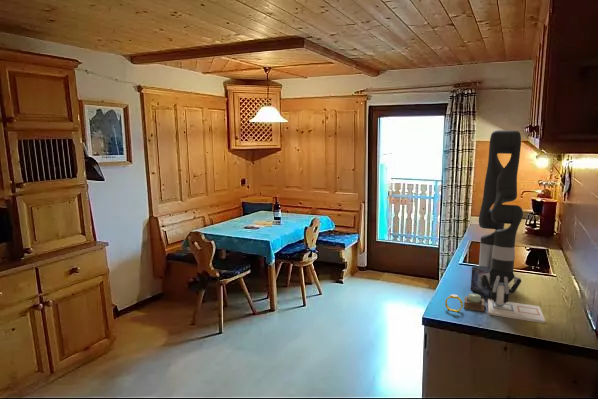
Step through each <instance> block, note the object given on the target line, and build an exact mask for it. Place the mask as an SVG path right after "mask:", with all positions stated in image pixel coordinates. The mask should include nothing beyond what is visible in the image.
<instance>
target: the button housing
mask: <svg viewBox="0 0 598 399" xmlns="http://www.w3.org/2000/svg"><path fill="white" fill-rule="evenodd" d="M485 305H486V304H485V299H484V298H481V303H474V302H468V296H466V295H465V296H464V301H463V309H466V310H472V311H479V312H485Z"/></svg>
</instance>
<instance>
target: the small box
mask: <svg viewBox="0 0 598 399" xmlns="http://www.w3.org/2000/svg"><path fill="white" fill-rule="evenodd" d="M490 271H491V268H488V267H485V266H479V265H478V266H477V265H476V266H471V277H470V291H472V292H474V293H476V294H478V295H480V296H481V295H482V296H484V297H486V298H488V299H492V291H491V290H488V289H487V286H486V284H485V281H484V279H483V274H487V273H490ZM488 281H489V284H490V286H491V287H493V284H494V281H493V279H492V278H491V276H489V279H488Z"/></svg>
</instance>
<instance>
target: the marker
mask: <svg viewBox="0 0 598 399" xmlns="http://www.w3.org/2000/svg"><path fill="white" fill-rule="evenodd" d="M504 296H505V284H504V283H501V282H499V283H498V286H497V289H496V302H495V305H497V306H504Z"/></svg>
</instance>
